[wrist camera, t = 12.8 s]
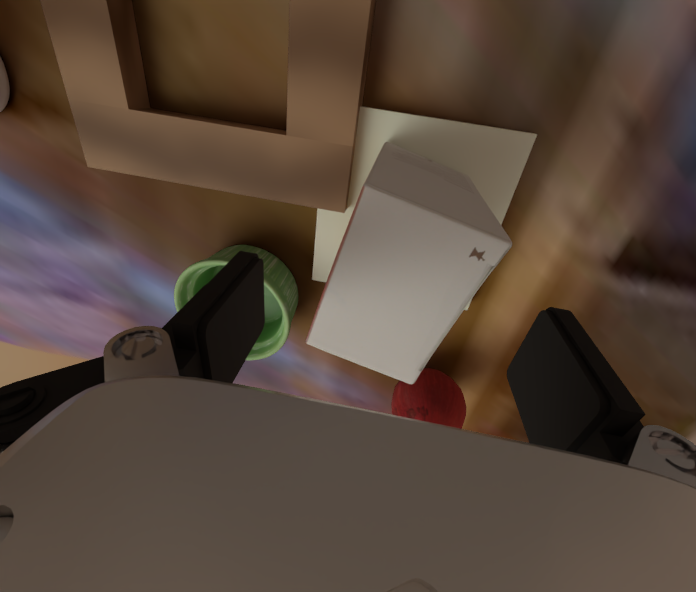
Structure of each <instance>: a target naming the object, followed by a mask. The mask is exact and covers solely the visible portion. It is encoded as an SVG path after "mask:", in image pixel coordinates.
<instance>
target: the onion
mask: <svg viewBox="0 0 696 592" xmlns="http://www.w3.org/2000/svg"><path fill="white" fill-rule="evenodd" d="M392 413H393V415H396V416H401V417H406V418H411V419H416V420H421V421H425V422H430V423H435V424H440V425H445V426H450V427H455V428H460V429H462V426H463V423H464V420H465V416H466V404H465V400H464V396H463V393H462V391H461V389H460V387H459V386H458V385H457V384H456V383H455V381H454V380H453V379H452V378H450V377H449V376H448V375H446V374H444V373H443V372H441V371H439V370H435V369H431V368H423V370H422V372H421V373H420V375H419V377H418V378H417V380H416V382H415V383H414V384H408V383H405V382H403V381H399V382H398V383H397V385H396V386H395V389H394V393H393V399H392Z"/></svg>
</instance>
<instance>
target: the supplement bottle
mask: <svg viewBox="0 0 696 592" xmlns="http://www.w3.org/2000/svg"><path fill="white" fill-rule="evenodd" d="M9 94H10V87H9V80H8V76H7V72H6V69H5V66H4V64H3V61H2V59H1V57H0V112H1V111H2V110H3V109H4V108H5V106H6V105H7V102H8V99H9Z"/></svg>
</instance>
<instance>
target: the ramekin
mask: <svg viewBox="0 0 696 592" xmlns="http://www.w3.org/2000/svg"><path fill="white" fill-rule="evenodd" d="M239 251H245V252H251V253H256V254H258V257H259V258H260V259H263V264H264V306H265V323H264V328H263V330H262V332H261V334H260V336H259V337H258V339H257V341H256V343H255V344H254V346H253V348H252V349H251V351H250V353H249V355H248V356H247V358H246V360H258V359H263V358H266V357H269V356H271V355H273V354H274V353H276V352H277V351H278V350H279V349H280V348H281V347H282V346H283V345H284V343H285V342H286V340H287V338H288V335H289V331H290V325H291V321H292V319H293V316H294V314H295V311H296V308H297V305H298V289H297V285H296V282H295V279H294V277H293V275H292V273H291V272H290V270H289V269H288V268H287V267H286V265H285V264H284V263H283V262H282V261H281V260H280V259H278V258H277V257H276V256H274V255H273V254H271V253H269V252H268V251H266V250H263V249H261V248H258V247H254V246H249V245H235V246H231V247H227V248H225V249H223V250H221V251H219V252H217V253H216V254H214V255H212V256H211V257H209V258H208V259H205V260H201V261H199V262H197V263H195V264H193V265H191V266H189V267H188V268H187V269H186V270H185V271H184V272H183V273H182V274H181V275H180V277H179V278H178V280H177V283H176V286H175V290H174V300H175V306H176V310H177V312H178V311H179V310H180V309H181V308H182V307H183V306H184V305H185V304H186V303H187V302H188V301H189V300H190V299H191V298H192V297H193V296H194V295H195V294H196V293H197V292H198V291H199V290H200V289H201V288H202V287H203V286H204V285H206V284H207V283H208V282H209V281H210V280H211V279H212V278H213V277H214V276H215V275H216V274H217V273H218V272H219V271H220V270H221V269H222V268H223V267H224V266H225V265H226V264H227V263H228V262H229V261H230V260H231V259H232V258H233V257H234V256H235V255H236V254H237V253H238V252H239Z"/></svg>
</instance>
